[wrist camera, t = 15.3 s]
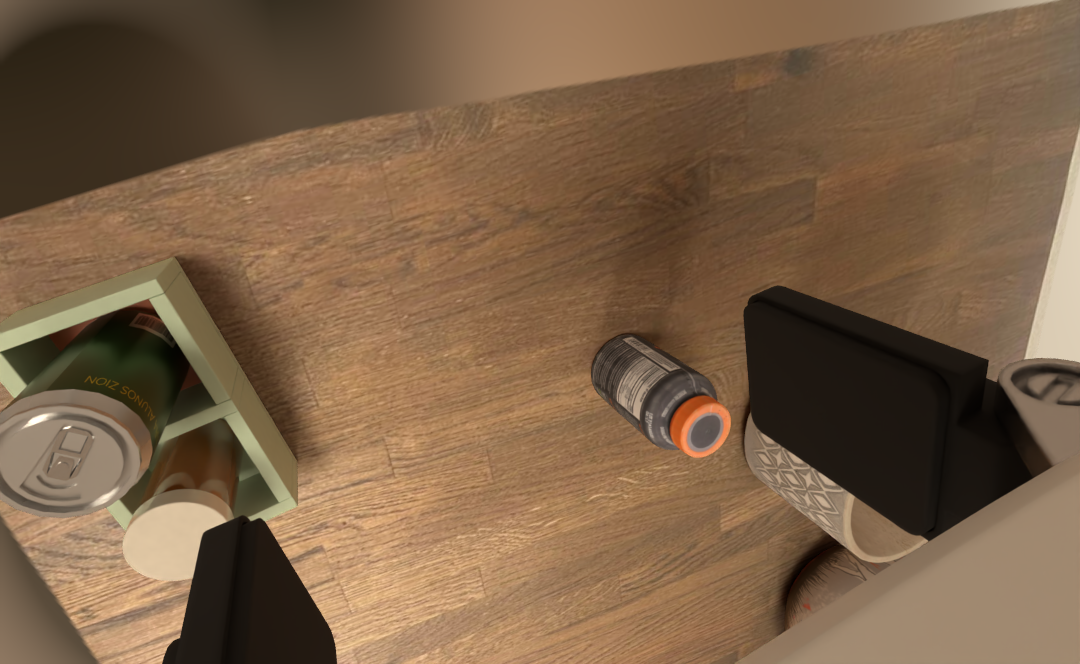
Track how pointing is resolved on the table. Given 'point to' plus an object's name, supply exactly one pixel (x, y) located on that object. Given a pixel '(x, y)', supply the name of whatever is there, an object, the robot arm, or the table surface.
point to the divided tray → (205, 393)
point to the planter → (826, 502)
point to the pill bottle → (660, 396)
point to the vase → (827, 582)
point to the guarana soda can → (91, 417)
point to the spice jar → (184, 501)
